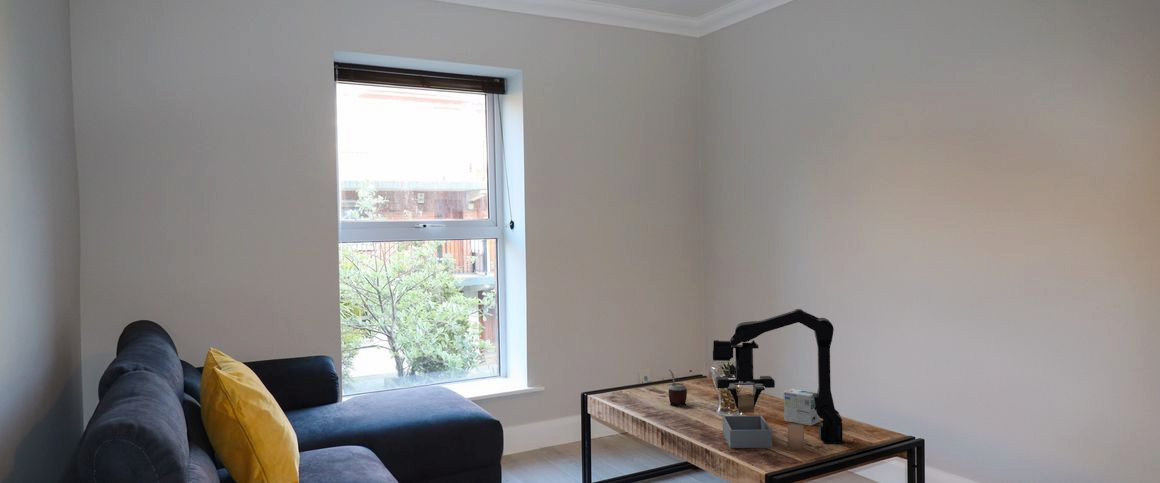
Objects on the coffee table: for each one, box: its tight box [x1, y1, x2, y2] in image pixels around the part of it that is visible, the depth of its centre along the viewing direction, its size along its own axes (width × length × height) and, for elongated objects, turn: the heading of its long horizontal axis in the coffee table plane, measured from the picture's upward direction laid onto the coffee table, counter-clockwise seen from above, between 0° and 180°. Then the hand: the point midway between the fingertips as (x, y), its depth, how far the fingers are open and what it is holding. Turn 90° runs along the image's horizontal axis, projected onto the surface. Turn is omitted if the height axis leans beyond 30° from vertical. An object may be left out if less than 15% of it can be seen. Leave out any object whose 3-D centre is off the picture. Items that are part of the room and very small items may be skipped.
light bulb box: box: [783, 388, 821, 427], centre depth 270 cm, size 11×7×11 cm, turn 47°
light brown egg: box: [787, 423, 805, 451], centre depth 240 cm, size 5×5×7 cm
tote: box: [722, 415, 773, 449], centre depth 250 cm, size 13×17×6 cm
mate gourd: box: [668, 369, 688, 408], centre depth 296 cm, size 8×8×15 cm
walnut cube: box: [736, 393, 755, 414], centre depth 252 cm, size 5×5×5 cm
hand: (745, 407), depth 252 cm, fingers closed on walnut cube, 5 cm apart
